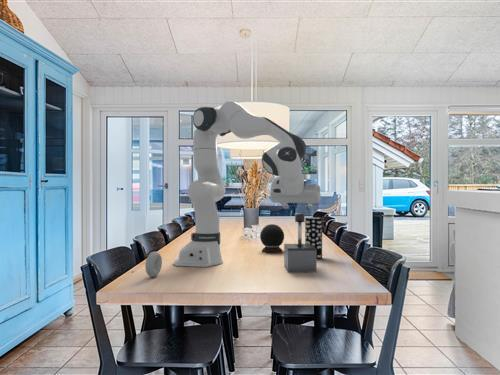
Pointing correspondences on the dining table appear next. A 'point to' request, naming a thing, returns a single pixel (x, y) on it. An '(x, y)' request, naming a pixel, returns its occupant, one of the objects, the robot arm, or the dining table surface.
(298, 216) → the plunger
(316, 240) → the spotted tube
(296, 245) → the block
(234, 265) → the dining table surface
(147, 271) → the grey thick disc
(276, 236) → the black ball on stand
